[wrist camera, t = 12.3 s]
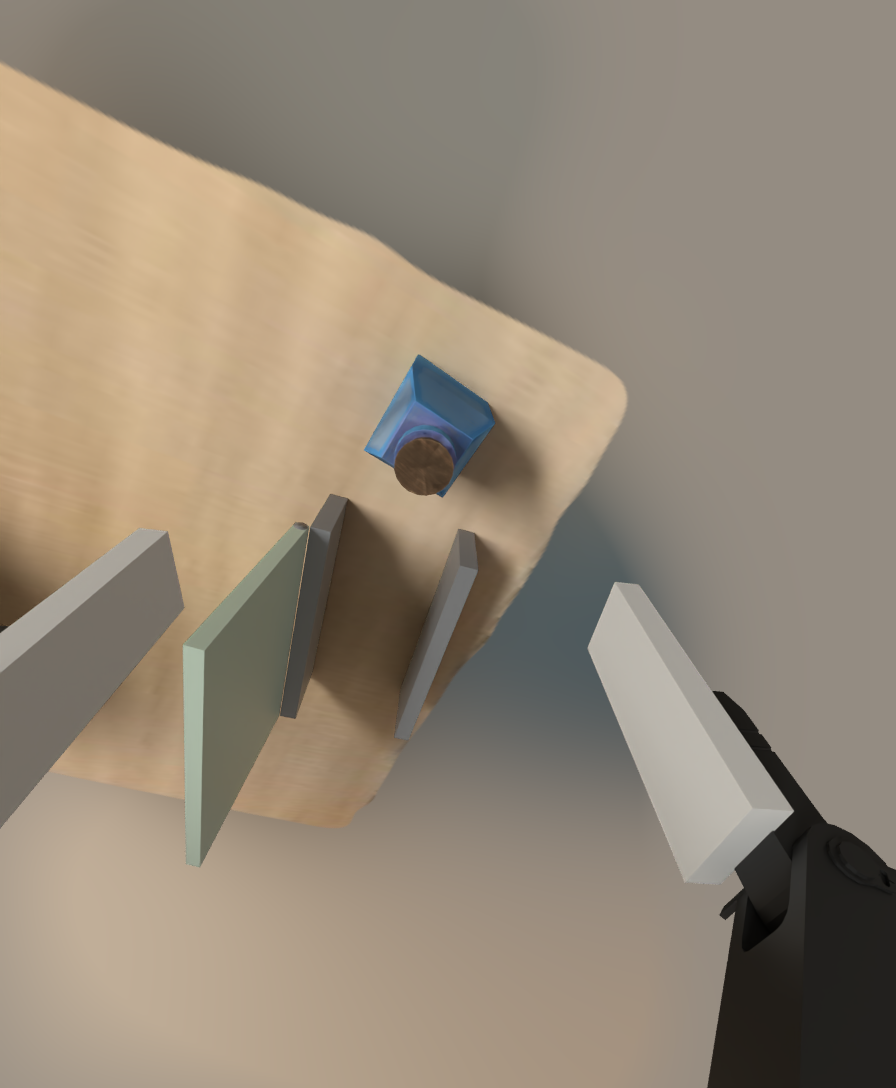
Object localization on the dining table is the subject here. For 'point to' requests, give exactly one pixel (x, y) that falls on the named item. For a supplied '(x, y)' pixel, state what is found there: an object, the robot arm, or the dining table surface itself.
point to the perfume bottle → (430, 429)
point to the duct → (432, 636)
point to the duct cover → (236, 686)
